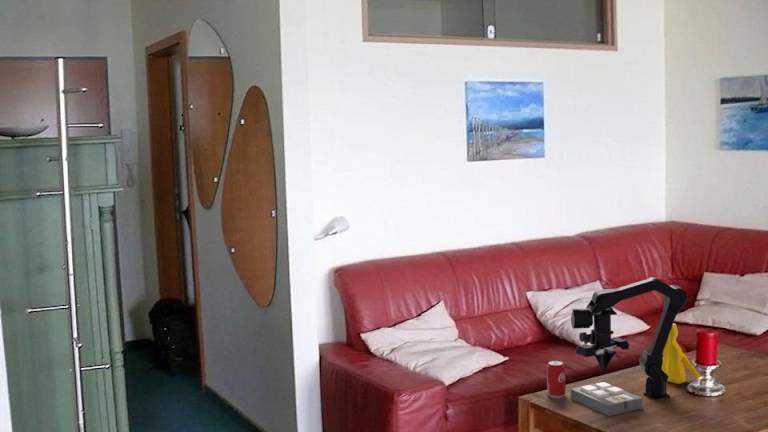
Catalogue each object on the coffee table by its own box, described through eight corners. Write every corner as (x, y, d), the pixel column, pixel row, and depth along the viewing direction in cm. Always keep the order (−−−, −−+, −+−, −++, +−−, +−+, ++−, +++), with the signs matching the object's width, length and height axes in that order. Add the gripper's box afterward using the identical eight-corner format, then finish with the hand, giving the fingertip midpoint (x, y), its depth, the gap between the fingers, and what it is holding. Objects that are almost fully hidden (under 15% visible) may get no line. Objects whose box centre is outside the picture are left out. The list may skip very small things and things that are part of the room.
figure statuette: (703, 384, 298) (703, 324, 295) (691, 389, 293) (691, 328, 290) (659, 374, 312) (658, 316, 309) (647, 379, 307) (646, 320, 304)
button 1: (590, 391, 289) (590, 384, 289) (597, 395, 285) (597, 388, 285) (580, 393, 287) (580, 386, 287) (588, 397, 284) (588, 390, 283)
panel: (603, 391, 295) (602, 381, 295) (642, 408, 277) (642, 397, 277) (570, 398, 289) (570, 387, 289) (608, 416, 271) (608, 404, 271)
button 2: (601, 396, 283) (601, 389, 283) (609, 400, 280) (609, 392, 280) (592, 398, 282) (591, 391, 282) (599, 402, 278) (599, 394, 278)
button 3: (604, 388, 291) (603, 381, 291) (611, 392, 288) (611, 385, 287) (594, 390, 290) (594, 383, 289) (602, 394, 286) (602, 387, 286)
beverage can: (565, 399, 289) (564, 365, 288) (547, 398, 291) (546, 365, 289) (565, 393, 295) (564, 360, 294) (547, 392, 297) (546, 360, 295)
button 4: (615, 393, 286) (615, 386, 286) (623, 396, 282) (623, 389, 282) (606, 395, 284) (606, 388, 284) (613, 399, 281) (613, 391, 280)
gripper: (608, 318, 297) (609, 361, 299) (565, 326, 290) (566, 370, 291) (629, 325, 287) (630, 369, 289) (586, 333, 280) (587, 378, 281)
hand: (603, 371), depth 288 cm, fingers closed
